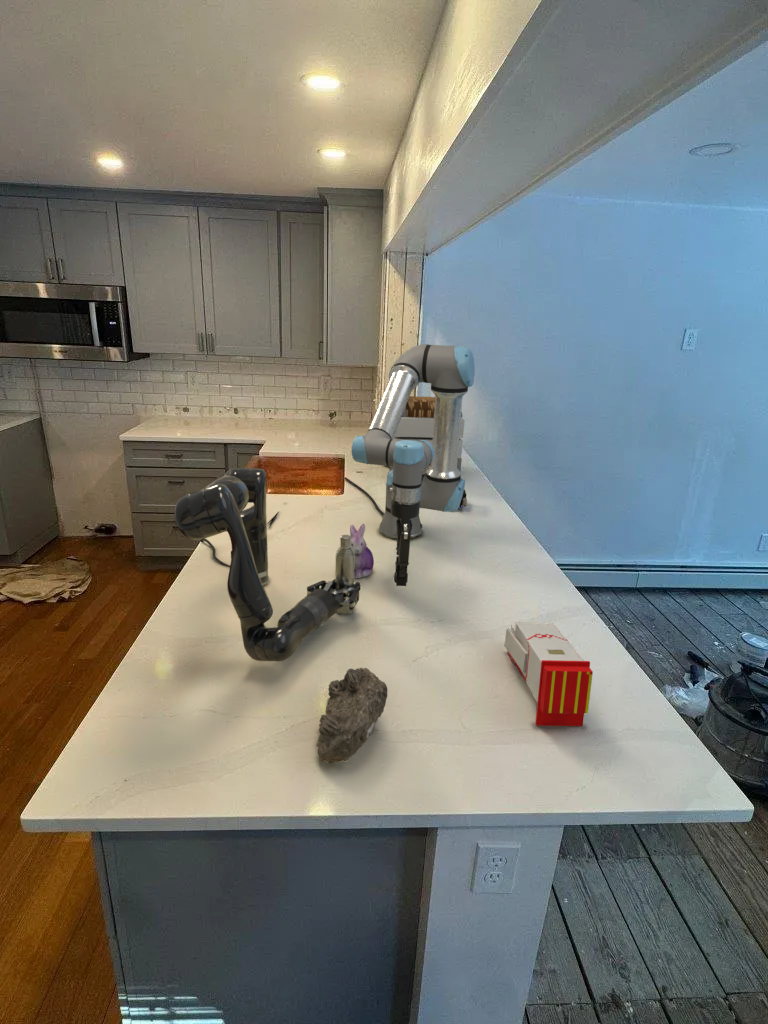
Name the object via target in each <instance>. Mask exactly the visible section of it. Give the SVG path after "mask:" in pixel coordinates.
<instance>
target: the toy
mask: <svg viewBox="0 0 768 1024" xmlns="http://www.w3.org/2000/svg"><path fill="white" fill-rule="evenodd" d="M503 645H504V647H505V649H506V650H507V655H508V656H509V658H510V659H511V662H513V664H514V666H515V667H516V669H517V670H518V672H519V673H520V675H521V676H522V679H523V680H524V681H525V683H526V686H527V687H528V689H529V690H530V693H531V694H532V696H533V698H534V700H535V701H536V703H537V704H536V714H535V722H534V723H535V726H537V727H541V726H542V727H583V726H584V719H585V715H586V714H587V715H588V714H589V706H590V705H589V704H590V699H591V691H592V683H593V682H592V681H593V674H594V673H593V672H594V671H593V670H592V669H591V668H590V667H591V661H590V660H584V659H583V658H582V657H581V655H580V654H579V653H578V651H577V650H576V649H575V648H574V647H573V645H572V644H571V643H570V642H569V640H568V639H567V638H566V636H564V633H562V632H561V630H560V629H559V628H558V627H557V625H556V624H555V623H553V622H515V624H511V625H510V628H506V630H505V638H504V644H503Z"/></svg>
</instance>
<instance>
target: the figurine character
mask: <svg viewBox="0 0 768 1024" xmlns="http://www.w3.org/2000/svg"><path fill="white" fill-rule="evenodd" d="M467 503H468V498H467V492H466V489H465V488H464V492H463V496H462V499H461V502H460V505H459V507H458V509H460V511H463V507H464V508H465V507H467Z"/></svg>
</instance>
